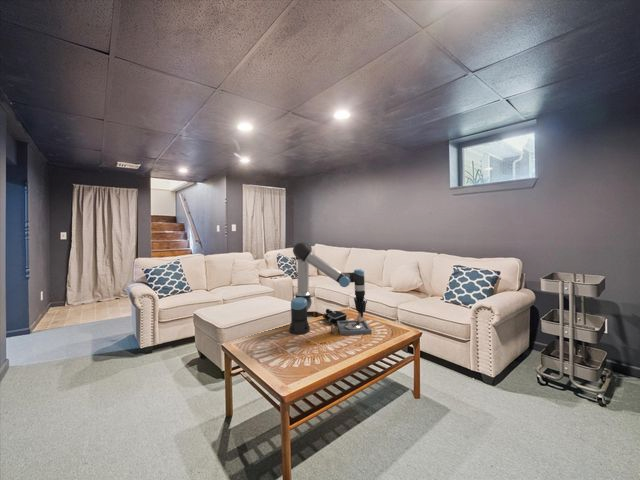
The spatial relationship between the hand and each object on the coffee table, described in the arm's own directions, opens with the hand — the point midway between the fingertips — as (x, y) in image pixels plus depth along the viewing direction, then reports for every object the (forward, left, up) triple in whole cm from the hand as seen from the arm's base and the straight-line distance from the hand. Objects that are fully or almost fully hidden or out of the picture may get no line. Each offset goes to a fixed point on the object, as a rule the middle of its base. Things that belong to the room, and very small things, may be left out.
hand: (361, 320), depth 220 cm
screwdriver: (-21, -5, -5) cm, 23 cm away
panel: (-6, -3, -5) cm, 9 cm away
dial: (-6, -3, -3) cm, 8 cm away
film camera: (-19, +16, -5) cm, 26 cm away
